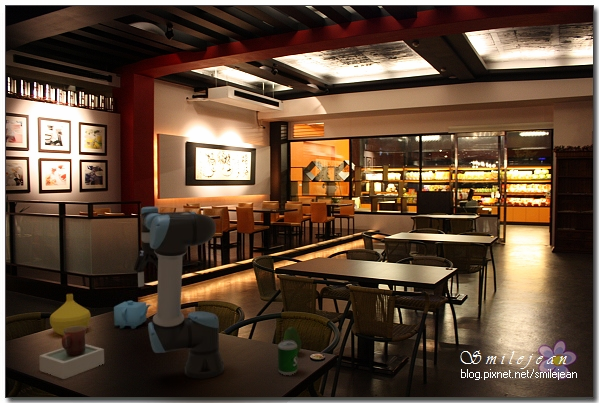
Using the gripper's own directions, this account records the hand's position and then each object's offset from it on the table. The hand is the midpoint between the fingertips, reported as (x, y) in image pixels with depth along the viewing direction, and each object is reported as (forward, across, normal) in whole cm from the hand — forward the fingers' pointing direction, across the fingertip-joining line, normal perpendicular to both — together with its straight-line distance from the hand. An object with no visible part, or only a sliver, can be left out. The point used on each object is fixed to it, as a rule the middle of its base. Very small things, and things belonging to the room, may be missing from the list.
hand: (151, 288), depth 226 cm
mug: (+22, +9, +34) cm, 41 cm away
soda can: (+27, -69, -6) cm, 74 cm away
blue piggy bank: (+27, +31, -17) cm, 44 cm away
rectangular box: (+27, +9, +34) cm, 44 cm away
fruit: (+27, -60, -23) cm, 70 cm away
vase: (+27, +50, +7) cm, 57 cm away
